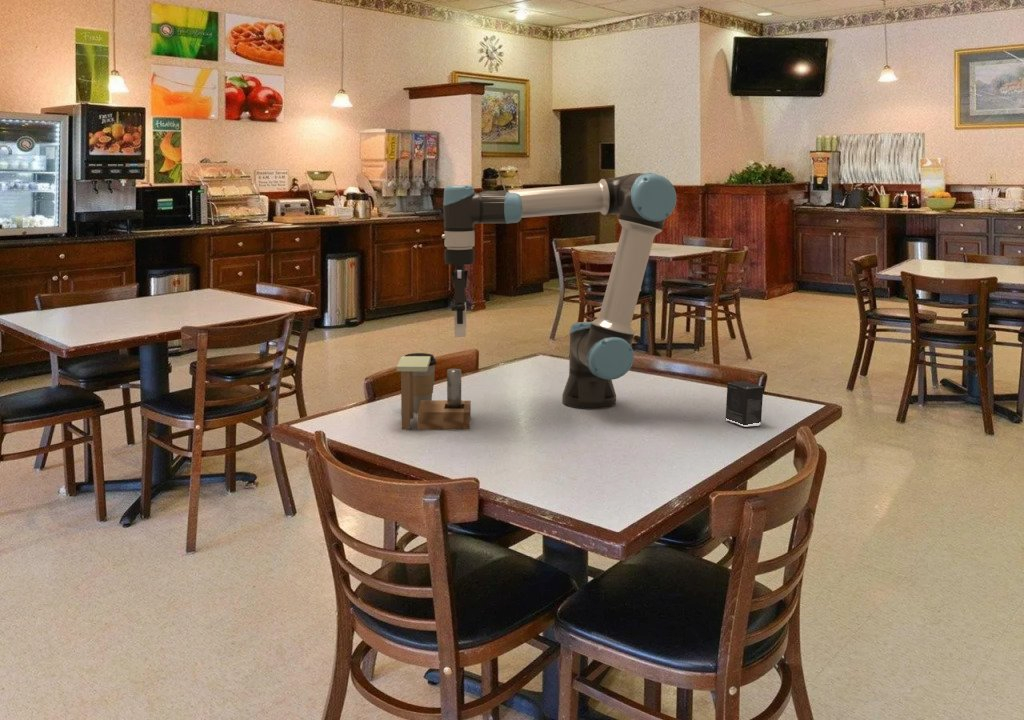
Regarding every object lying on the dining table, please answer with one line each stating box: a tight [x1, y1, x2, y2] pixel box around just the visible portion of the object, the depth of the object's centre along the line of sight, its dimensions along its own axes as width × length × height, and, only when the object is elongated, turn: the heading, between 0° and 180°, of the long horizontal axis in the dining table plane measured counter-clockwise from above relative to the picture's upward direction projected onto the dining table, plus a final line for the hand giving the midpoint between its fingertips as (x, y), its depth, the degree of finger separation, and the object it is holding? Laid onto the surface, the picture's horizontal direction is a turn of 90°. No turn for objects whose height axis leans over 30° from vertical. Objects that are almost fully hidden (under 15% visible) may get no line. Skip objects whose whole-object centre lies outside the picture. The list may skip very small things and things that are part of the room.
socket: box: [416, 399, 472, 431], centre depth 241 cm, size 13×12×4 cm
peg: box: [446, 368, 462, 409], centre depth 240 cm, size 4×4×14 cm
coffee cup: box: [404, 352, 437, 414], centre depth 252 cm, size 9×9×15 cm
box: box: [725, 380, 764, 425], centre depth 243 cm, size 8×6×11 cm
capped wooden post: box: [396, 355, 430, 430], centre depth 239 cm, size 8×13×16 cm, turn 1°
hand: (460, 331), depth 238 cm, fingers open, 13 cm apart
